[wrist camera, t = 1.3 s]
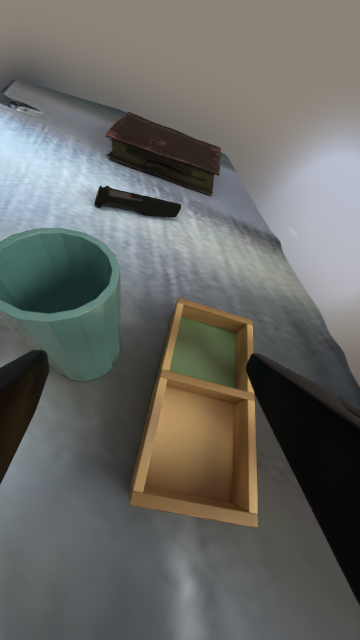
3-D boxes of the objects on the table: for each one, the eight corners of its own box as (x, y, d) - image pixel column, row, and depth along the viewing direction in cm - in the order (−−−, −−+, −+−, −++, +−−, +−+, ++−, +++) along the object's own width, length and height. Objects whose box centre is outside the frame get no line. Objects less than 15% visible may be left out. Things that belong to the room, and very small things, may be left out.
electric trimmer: (178, 225, 39) (182, 210, 36) (93, 208, 35) (91, 189, 32) (176, 214, 41) (180, 199, 38) (96, 196, 37) (95, 178, 34)
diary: (128, 134, 54) (129, 108, 50) (214, 166, 57) (221, 145, 53) (105, 161, 44) (104, 132, 40) (210, 198, 47) (219, 175, 43)
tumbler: (96, 393, 20) (68, 344, 10) (34, 362, 20) (-64, 278, 10) (131, 338, 24) (139, 260, 14) (80, 312, 24) (46, 213, 14)
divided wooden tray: (236, 513, 18) (258, 528, 15) (127, 493, 17) (129, 505, 14) (239, 332, 29) (252, 320, 26) (172, 312, 28) (178, 297, 25)
